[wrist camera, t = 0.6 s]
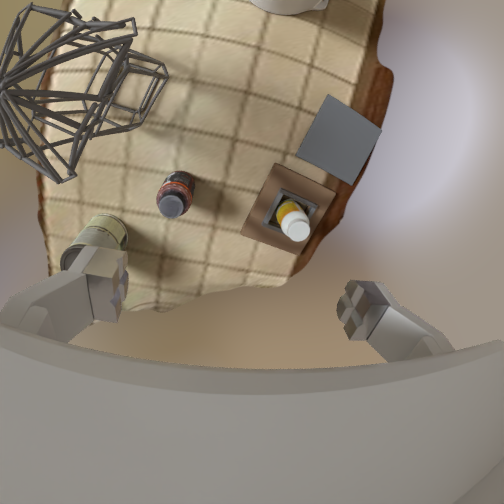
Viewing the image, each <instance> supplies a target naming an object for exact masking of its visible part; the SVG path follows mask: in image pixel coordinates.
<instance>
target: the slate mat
mask: <svg viewBox="0 0 504 504" xmlns="http://www.w3.org/2000/svg"><path fill="white" fill-rule="evenodd" d="M381 132H382V130H381V129H380V128H378V127H377V126H375V125H374V124H373V123H371V122H370V121H369V120H367V119H366V118H364V117H363V116H361V115H360V114H358V113H357V112H356V111H354V110H353V109H351V108H350V107H348V106H346V105H345V104H343V103H342V102H340V101H339V100H337V99H335V98H334V97H332V96H331V95H329V94H328V95H327V97H326V99H325V100H324V102H323V104H322V106H321V108H320V110H319V112H318V114H317V115H316V117H315V119H314V121H313V123H312V125H311V127H310V129H309V131H308V133H307V134H306V136H305V138H304V140H303V142H302V144H301V146H300V148H299V150H298V152H297V153H296V156H297V157H299V158H301V159H303V160H305V161H307V162H309V163H311V164H313V165H315V166H317V167H319V168H321V169H323V170H325V171H326V172H328V173H330V174H332V175H334V176H336V177H337V178H339V179H341V180H343V181H345V182H346V183H348V184H350V185H353V183H354V181H355V179H356V178H357V176H358V174H359V172H360V170H361V169H362V167H363V165H364V163H365V161H366V160H367V158H368V156H369V154H370V152H371V151H372V149H373V147H374V145H375V143H376V141H377V139H378V137H379V136H380V134H381Z"/></svg>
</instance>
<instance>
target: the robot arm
mask: <svg viewBox="0 0 504 504" xmlns="http://www.w3.org/2000/svg"><path fill="white" fill-rule="evenodd" d="M250 1H251V2H252V3H253V4H254V5H256V6H257V7H259V8H261V9H263V10H265V11H268V12H271V13H275V14H281V15H293V14H298V13H302V12H304V11H308V10H324V9H325V8H326V7H327V4H328V1H329V0H323V2H322V0H250ZM127 264H128V254H127V252H126V251H121V250H115V249H109V248H103V247H98V246H90V245H86V246H84V248H83V249H82V251H81V252H80V253H79V255H78V256H77V258H76V259H75V260H74V262H73V263H72V265H71V266H70V268H69V269H68V271H66V270H63V271H61V272H59V273H57V274H55V275H53V276H51V277H49V278H46V279H44V280H43V281H41V282H39V283H37V284H35V285H33V286H31V287H29V288H27V289H25V290H23V291H21V292H19V293H17V294H15V295H14V296H12V297H10V298H9V300H8V301H7V303H6V304H5V306H4V307H3V309H2V310H1V312H0V504H504V342H503V341H501V340H495V341H492V342H488V343H484V344H480V345H477V346H473V347H469V348H464V349H461V350H456V351H455V349H454V348H453V347H452V345H451V344H450V342H449V341H448V339H447V338H446V336H445V335H444V334H443V333H442V332H441V331H439V330H437V329H436V328H435V327H433V326H432V325H430V324H429V323H427V322H426V321H424V320H423V319H422V318H420V317H419V316H417V315H416V314H414V313H412V312H411V311H410V310H408V309H407V308H405V307H404V306H400V304H399V303H398V302H397V300H396V299H395V298H394V296H393V295H392V294H391V292H390V291H389V290H388V288H387V287H386V286H385V285H384V283H382V282H374V281H357V280H350V281H349V282H348V283H347V285H346V287H345V291H346V293H345V294H344V295H343V296H341V297H340V299H339V301H338V304H337V316H338V318H339V320H340V321H342V322H343V323H344V324H345V325H344V330H345V332H346V334H347V336H348V338H349V340H367V342H368V343H369V344H370V345H371V346H372V347H373V348H374V349H375V350H376V351H377V352H378V353H379V354H380V355H381V356H382V357H383V358H384V359H385V360H386V361H387V362H388V363H380V364H371V365H361V366H349V367H334V368H315V369H242V368H223V367H208V366H197V365H187V364H177V363H168V362H160V361H154V360H146V359H141V358H134V357H128V356H122V355H117V354H112V353H107V352H102V351H97V350H93V349H88V348H84V347H80V346H76V345H72V344H68V342H69V341H70V340H72V339H73V338H74V337H75V336H76V335H77V334H79V333H80V332H81V331H82V330H83V329H84V328H86V327H87V326H88V325H89V324H90V323H92V322H93V321H94V319H95V320H101V321H107V322H114V323H117V322H118V319H119V316H120V313H121V310H122V306H121V302H123V301H124V300H125V298H126V295H127V290H128V281H129V278H128V273H127V271H126V270H125V269H126V267H127Z"/></svg>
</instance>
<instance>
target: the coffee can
mask: <svg viewBox="0 0 504 504" xmlns="http://www.w3.org/2000/svg"><path fill="white" fill-rule="evenodd" d="M127 243H128V233H127V230H126V227H125V226H124V224H123V223H122V222H121V221H120V220H119V219H118V218H117V217H115V216H113V215H110V214H98V215H96V216H94V217H93V218H92V219H91V220H90V221H89V223H88V224H87V225H86V226H85V227H84V229H83V230H82V231H81V232H80V233H79V235H78V236H77V237H76V238H75V240H74V241H73V242H72V243H71V245H70V246H69V247H68V248H67V249H66V250H65V251H64V253H63V254H62V256H61V260H60V267H61V271H63V270H66V271H68V269H69V268H70V266H71V265H72V263H73V262H74V260H75V259H76V258H77V256H78V255H79V253H80V252H81V251H82V249H83V248H84V246H86V245H90V246H98V247H103V248H109V249H115V250H121V251H124V249H125V247H126V245H127Z"/></svg>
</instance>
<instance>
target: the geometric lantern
mask: <svg viewBox="0 0 504 504" xmlns="http://www.w3.org/2000/svg"><path fill="white" fill-rule="evenodd" d="M32 4H33V2H31V3H30V4H29V5H27V6H26V7H25V8H23V9H22V10H21V11H20V12H19V13H18V14H17V16H16V18H15V19H14V22H13V25H12V28H11V30H10V32H9V35H8V37H7V40H6V43H5V45H4V48H3V51H2V53H1V56H0V66H1V62H2V59H3V56H4V53H5V54H6V56H5V59H4V61H3V64H2V67H1V69H0V127H1V131H2V135H3V138H4V139H0V148H4V147H5V148H6V149H7V150H8V151H10V152H11V153H12V154H13V155H15V156H16V157H17V158H18V159H20V160H23V161H24V162H26V163H27V164H29V165H30V166H32V167H33V168H35V169H36V170H38V171H39V172H41V173H42V174H44V175H45V176H47V177H48V178H50V179H51V180H53V181H55V182H56V184H60V183H64V182H66V181H68V180H70V179H73V178H75V177H77V173H76V172H75V171H74V170H75V168H76V165H77V163H78V161H79V158H80V156H81V154H82V151H83V149H84V147H85V145H86V143H87V141H88V139H89V140H92V138H94V137H98V136H104V135H110V134H116V133H122V132H128V131H131V130H133V129H135V128H137V127H139V126H141V125H142V124H143V122H144V120H145V118H146V116H147V114H148V112H149V111H150V109H151V107H152V105H153V104H154V102H155V100H156V98H157V97H158V95H159V93H160V92H161V90H162V88H163V87H164V85H165V84H166V82H167V80H168V79H169V75H168V72H167V69H166V67H165V64H164V63H163V62H160V61H158V60H156V59H153V58H151V57H149V56H146V55H144V54H142V53H139V52H137V51H134V50H132V49H129V48H130V46H131V44H132V42H133V38H132V37H135V36H137V35H138V32H137V27H136V22H135V18H134V17H132V18H128V19H124V20H121V21H118V22H110V21H100V20H99V19H97V18H96V17H92V20H93V21H92V20H90V21H88V22H85V21H83V20H81V18H82V16H81V15H80V14H79V13H78V12H77V11H76V10H75V9H73V10H72V12H66V11H62V10H57V9H52V8H46V7H40V6H36V5H32ZM25 9H27V10H26V12H25V13H24V15H23V18H22V20H21V22H20V17H19V15H20V13H22V12H23V11H24V10H25ZM31 10H33V11H37V12H40V13H43V14H46V15H49V16H52V17H55V18H57V19H60V20H58V21H57V22H56V23H55V24H54V25H53V26H52V27H51V28H50V29H49V30H48V31H47V32H45V34H44V35H42V36H41V37H40V38H39V39H38V40H37V41H36V42H35V44H34V45H33V46H32V47H31V48H30V49H29V50H28V51H27V52H26V53H25V54H24V55H23V49H22V40H21V30H22V28H23V26H24V23H25V21H26V19H27V17H28V15H29V13H30V11H31ZM72 13H73V14H74V15H75V16H76V17H77V18H76V17H74V16H71V15H72ZM70 16H71V17H70ZM64 21H65V22H68V23H70V24H73V25H74V27H73V30H72V31H71V32H69V33H67V34H66V35H64V36H62V37H61V38H59V39H58V40H56V41H55V42H53V43H52V44H50V45H49V46H47V47H46V48H44V49H43V50H41V51H40V52H39V53H36V54H35V55H32V56H30V55H31V54H32V53H33V52H34V51H35V50H36V49H37V47H38V46H39V45H40V44H41V43H42V42H43V41H44V40H45V39H46V38H47V37H48V36H49V35H50V34H51V33H52V32H53V31H54V30H55V29H57V28H58V27H59V26H60V25H61V24H62V23H63V22H64ZM129 21H132V26H133V32H134V33H133V34H129V35H124V36H120V37H116V38H112V39H108V40H104V39H102V38H101V37H100V36H99V35H95V37H92V36H89V34H92V33H95V32H101V31H107V30H113V29H121V28H124V27H125V26H126V24H125V22H129ZM78 26H79V27H78ZM15 29H16V32H15ZM84 29H89V30H91V31H88V32H85V33H83V34H82V33H79V32H80V31H82V30H84ZM14 32H15V35H14ZM13 36H14V37H13ZM77 39H80V40H85V41H90V42H95V43H94V44H90V45H87V46H86V45H82V44H79V43H76V42H72V41H74V40H77ZM16 42H17V45H18V52H16V51H13V50H14V47H15V45H16ZM65 44H68V45H72V46H76V47H79V48H78V49H75V50H72V51H69V52H66V53H64V54H61V55H58V56H56V57H53V55H54V53H55V51H56V49H57V48H58V47H61V46H63V45H65ZM121 44H123V45H122V46H121ZM113 47H115V48H113ZM106 48H109V49H111V50H109V51H107V52H104V51H101V50H102V49H106ZM117 49H119V50H120V51H119V52H118V51H116V50H117ZM52 50H53V52H52V54H51V56H50V58H49V60H46V61H44V62H42V63H39V64H37V65H35V66H33V67H31V68H28V67H29V66H30V65H32V64H33V63H34V62H36V61H37V60H38V59H39V58H41V57H42V56H43V55H45V54H46V53H48V52H50V51H52ZM92 52H97V53H100V54H103V55H104V56H103V58H102V59H101V61H100V63H99V65H98V67H97V69H96V71H95V73H94V74H93V76H92V78H91V80H90V82H89V84H88V87H87V89H86V91H85V93H75V92H64V91H50V90H38V89H39V87H40V84H41V82H42V79H43V77H44V75H45V72H46V70H47V69H48V68H51V67H53V66H56V65H58V64H61V63H63V62H66V61H69V60H71V59H74V58H77V57H80V56H83V55H86V54H89V53H92ZM111 52H114V53H115V54H117V56H116V58H115V60H113V59H112V57H111V56H110V55H109V53H111ZM127 52H131V53H134V54H131V53H127ZM13 54H14V55H17V56H19V59H20V60H19V61H18V62H17V63H16V65H15V66H14V67H13V68H12V69H11V70H10V71H8V72H7V73H6V71H7V67H8V65H9V63H10V60H11V59H12V56H13ZM135 54H136V55H135ZM29 56H30V57H29ZM106 56H108V57H109V59H110V60H111V61H112V62H113V64H112V66H111V68H110V70H109V72H108V74H107V76H106V78H105V80H104V82H103V85H102V87H101V89H100V91H99V93H98V95H93V94H87V93H88V91H89V88H90V86H91V84H92V82H93V80H94V78H95V76H96V74H97V72H98V71H99V69H100V67H101V65H102V63H103V61H104V60H105V58H106ZM52 57H53V58H52ZM129 58H133V59H137V60H142V61H146V62H150V63H154V64H157V65H159V66H158V67H157V68H156V69H155V70H154V71H152V70H149V69H146V68H143V67H140V66H137V65H134V64H130V63H129ZM123 61H124V62H123ZM123 65H124V70H123V71H122V73H121V74H120V75H119V77H118V78H117V79H116V77H117V75H118V73H119V70H120V68H121V67H122V66H123ZM161 66H162V68H163V70H164V73H165V75H160V74H157V72H156V71H157V70H158V69H159V68H160V67H161ZM130 67H134V68H138V69H134V68H130ZM27 68H28V69H27ZM25 69H26V70H25ZM139 69H141V70H139ZM42 71H43V73H42V76H41V78H40V80H39V83H38V85H37V88H36V90H24V89H22V88H21V87H20V86H19V85H18V84H17V83H19V82H21V81H22V80H25V79H26V78H29V77H31V76H33V75H35V74H37V73H39V72H42ZM128 72H132V73H137V74H143V75H148V76H154V77H153V79H152V81H151V83H150V85H149V87H148V89H147V91H146V94H145V96H144V98H143V100H142V103H141V105H140V107H139V109H138V110H137V111H135V110H132V109H129V108H126V107H123V106H120V105H117V104H114V103H112V102H113V100H114V98H115V96H116V94H117V92H118V90H119V88H120V86H121V85H122V83H123V81H124V79H125V77H126V75H127V74H128ZM155 78H157V79H156V81H155V83H154V85H153V87H152V89H151V91H150V93H149V96H148V98H147V100H146V102H145V104H144V106H143V108H141V107H142V105H143V103H144V101H145V98H146V96H147V94H148V92H149V90H150V88H151V85H152V83H153V81H154V79H155ZM159 78H163V79H164V81H163V83H162V84H161V86H160V87H159V89H158V91H157V92H156V94H155V96H154V98H153V99H152V101H151V103H150V105H149V106H148V108H147V110H146V112H145V114H144V115H143V117H141V113H140V112H141V111H143V110H144V109H145V106H146V104H147V102H148V100H149V98H150V96H151V94H152V92H153V89H154V87H155V85H156V83H157V81H158V79H159ZM115 80H116V81H115ZM117 85H118V86H117ZM11 86H14V87H15V88H16V89H13V90H11V89H9V90H7V89H8V88H9V87H11ZM115 88H116V89H115ZM114 90H115V91H114ZM113 91H114V93H113ZM18 96H24V97H26V98H27V99H28V100H29V101H28V100H25V99H23V98H20V97H18ZM30 96H31V97H33V98H31V97H30ZM35 97H55V98H58V99H44V100H35ZM110 97H111V99H110V101H109V100H108V98H110ZM7 100H8V101H10V102H11V103H12V104H13V106H14V107H15V108H16V110H17V111H18V112H19V113H20V115H21V116H22V117H23V118H24V119H25V121H26V122H27V123H28V124H29V126H28V129H27V131H26V130H25V128H24V127H23V125H22V124H21V122H20V121H19V120H18V118H17V116H16V114H15V113H14V111H13V109H12V108H11V106H10V104H9V103H8V101H7ZM80 100H82V103H83V106H84V109H85V110H74V111H57V112H54V111H51V110H49V109H47V108H44V107H42V106H40V105H37V104H41V103H52V102H63V101H80ZM85 100H90V101H97V102H101V103H100V104H97V103H96V102H94V103H93V104H92V105H91V107H90V109H89V110H88V109H87V106H86V103H85ZM106 104H107V107H106V110H105V112H104V114H103V116H101V114H102V111H103V109H104V107H105V105H106ZM18 105H21V106H24V107H26V108H29V109H31V110H32V119H31V121H30V120H29V118H28V117H27V116H26V115H25V113H24V112H23V111H22V109H21V108H20V107H19V106H18ZM98 106H99V108H98V110H97V112H96V114H95V113H94V111H95V109H96V108H97V107H98ZM110 106H113V107H116V108H119V109H122V110H125V111H128V112H131V113H134V114H133V116H132V119H131V121H130V124H129V125H125V126H121V125H119V124H117V123H115V122H113V121H110V120H108V119H106V118H105V117H106V115H107V112H108V110H109V108H110ZM35 111H36V112H38V113H36V112H35ZM77 113H87V114H86V116H85V117H84V119H83V121H82V123H81V124H80V123H78V122H76V121H74V120H72V119H69V118H67V117H65V116H63V115H64V114H77ZM136 113H139V118H140V122H139V123H134V124H132V122H133V119H134V116H135V114H136ZM44 116H48V117H50V118H53V119H55V120H57V121H60V122H62V123H64V124H67V125H69V126H71V127H74V128H76V129H78V130H77V131H76V133H73V132H71V131H69V130H66V129H64V128H62V127H60V126H57V125H55V124H53V123H51V122H48V121H46V120H44V119H42V118H39V117H44ZM91 116H94V119H93V120H92V121H91V123H90V125H88V126H86V125H87V123H88V122H89V120H90V118H91ZM10 119H11V120H12V122H13V124H14V125H15V127H16V128H17V130H18V131H19V133H20V134H21V136H22V137H23V138H18V136H17V134H16V131H15V129H14V127H13V125H12V123H11V120H10ZM33 119H36V120H39V121H41V122H43V123H45V124H48V125H50V126H52V127H54V128H57V129H59V130H61V131H63V132H65V133H68V134H70V135H72V136H74V137H72V138H69V139H65V140H61V141H57V142H54V143H49V142H48V141H47V140H46V139H45V137H44V136H43V135H42V134H41V133H40V132H39V130H38V129H37V128H36V127H35V126H34V124H33V123H32V121H33ZM103 121H105V122H107V123H109V124H112V125H114V126H116V128H111V129H107V130H103V131H99V130H100V128H101V126H102V123H103ZM5 124H6V126H7V128H8V130H9V132H10V134H11V136H12V138H10V139H9V138H8V134H7V130H6V126H5ZM97 124H99V125H98V127H97V130H96V132H95V133H93V131H94V126H95V125H97ZM30 127H31V128H32V129H33V130H34V131H35V133H36V134H37V135H38V136H39V137H40V139H41V140H42V141H43V142H44V143H45V144H46V145H44V146H40V147H39V146H38V145H36V144H35V142H34V141H33V140H32V138H31V137H30V135H29V134H28V132H29V129H30ZM127 128H128V129H127ZM83 132H86V133H85V135H81V134H82V133H83ZM79 140H82V141H81V143H80V145H79V147H78V144H79ZM70 142H73V145H72V150H71V155H70V160H69V165H68V164H67V162H66V161H65V160H64V159H63V158H62V157H61V156H60V155H59V154H58V152H57V151H56V150H55V149H54V148H53V147H55V146H59V145H62V144H66V143H70ZM22 143H25V144H27V145H28V146H29V147H30V149H31V150H32V152H30V153H28V154H26V152H25V150H24V148H23V146H22ZM15 145H16V146H17V148H18V150H19V152H18V151H17V150H16V149H14V148H13V147H12V146H15ZM77 148H78V150H77ZM45 149H50V150H51V151H52V152H53V153H54V154H55V156H56V157H57V158H58V159H59V160H60V161H61V162H62V163H63V164H64V165H65V167H66V168H67V169H68V170H67V174H68V175H69V177H67V178H65V179H62V178H61V177H60V175H59V174H58V173H57V172H56V170H55V169H54V168H53V166H52V165H51V164H50V162H49V161H48V159H47V158H46V156H45V154H44V153H43V151H42V150H45ZM34 154H35V156H36V157H37V158H38V160H39V161H40V162H41V164H42V165H43V166H44V167H42V166H41V165H39V164H37V163H36V162H34V161H33V160H31V159H30V158H28V157H29V156H31V155H34Z"/></svg>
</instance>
